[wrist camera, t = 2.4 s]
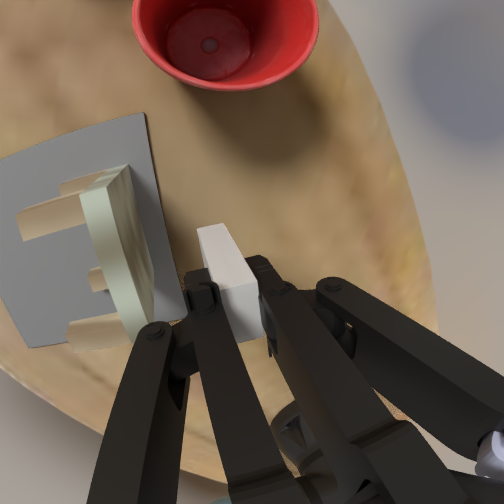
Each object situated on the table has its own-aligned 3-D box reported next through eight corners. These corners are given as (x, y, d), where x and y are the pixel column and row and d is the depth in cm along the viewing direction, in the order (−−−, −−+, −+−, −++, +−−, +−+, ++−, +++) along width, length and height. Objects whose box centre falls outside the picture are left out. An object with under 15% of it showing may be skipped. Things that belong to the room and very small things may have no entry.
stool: (154, 270, 27) (154, 338, 19) (96, 283, 26) (74, 353, 17) (128, 163, 23) (106, 187, 14) (64, 181, 22) (14, 215, 13)
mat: (188, 314, 31) (189, 316, 30) (29, 345, 27) (28, 348, 26) (143, 112, 22) (143, 112, 22) (-38, 179, 18) (-40, 180, 18)
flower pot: (226, 127, 24) (260, 128, 16) (118, 66, 20) (93, 35, 11) (291, 38, 22) (348, 8, 14) (191, -23, 18) (208, -81, 9)
